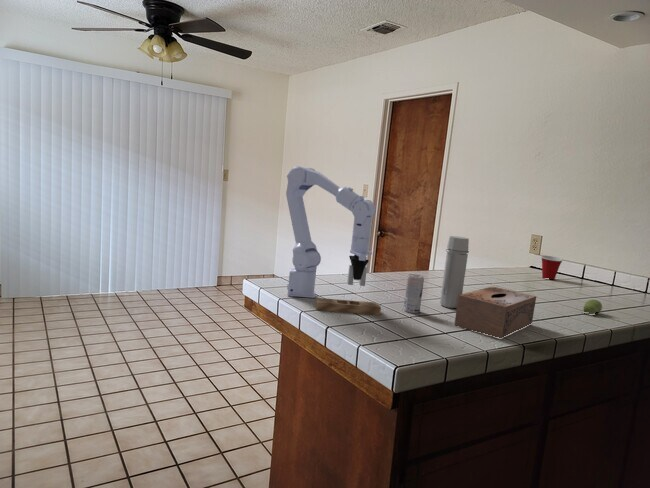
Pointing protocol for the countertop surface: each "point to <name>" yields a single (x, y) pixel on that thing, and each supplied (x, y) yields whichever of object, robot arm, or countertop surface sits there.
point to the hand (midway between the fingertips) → (356, 278)
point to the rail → (348, 306)
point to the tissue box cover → (494, 311)
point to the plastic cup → (550, 266)
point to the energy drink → (413, 293)
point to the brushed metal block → (350, 276)
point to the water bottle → (454, 271)
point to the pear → (592, 306)
